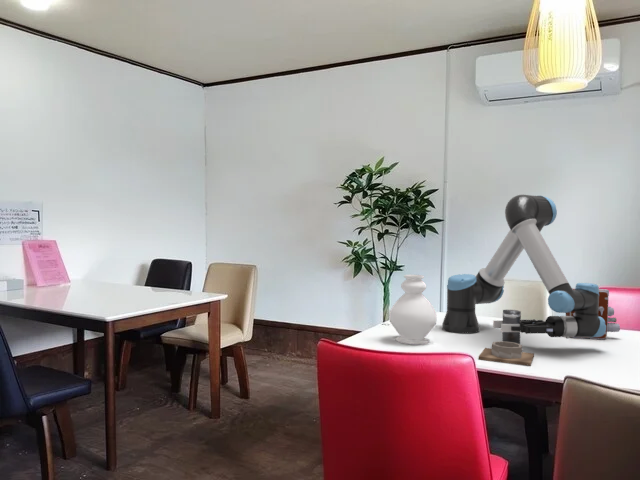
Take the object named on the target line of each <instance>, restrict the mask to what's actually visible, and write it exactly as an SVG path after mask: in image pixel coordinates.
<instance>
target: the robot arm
mask: <svg viewBox="0 0 640 480" xmlns="http://www.w3.org/2000/svg"><path fill="white" fill-rule="evenodd" d="M557 211H558V210H557V206H556V203H555V202H554V201H553V200H552V199H551V198H549V197H547V196H543V195H531V194H519V195H518V194H517V195H515V196H513V197H512V198H510V200H508V202H507V204H506V206H505V210H504V215H505V220H506V222H507V225H508V227H509V230H508V232H507V234H506V236H504V239H503V240H502V241H501V243H500V244H499V247H498V248H497V250H495V252H494V254H493V256H491V258H490V261H488V263H487V264H486V267H483V268H481V269H479V271H478V272H477V274H476V275H475V274H470V273H462V274H454V275H451V276H449V277H448V279H447V285H446V289H447V292H446V293H447V294H446V313H445V315H444V317H443V321H442V325H441V327H442V328H441V329H442V331H443V330H444V331H446V332H450V333H455V334H476V333H479V332H480V325H479V321H478V318H477V317H478V316H477V315H476V314H477V313H476V305H484V304H492V303H495V302H497V301H499V300H500V299H501V298H502V297H503V295H504V291H505V290H504V288H505V286H504V285H505V279H504V278H505V277H506V276H507V274H508V273H509V271H510V270H511V268H512V267H513V265H514V264H515V262H516V261H517V259H518V258H519V257H520V255H521V254H522V252H523V251H524V250H525V252H526V254H527V257H528V258H529V260H530V262H531V263H532V265H533V267H534V269H535V271H536V273H537V274H538V276H539V278H540V280H541V282H542V283H543V285H544V287H545V289H546V290H547V292H548V294H549V295H548V296H547V297H548V298H547V306H548V307H549V308H550V310H552V311H553V312H555V313H558V314H559V313H563V314H564V313H565V314H566V313H567V312H573V311H575V316H566V315H548V316H547V317H546V319H545V321H544V320H543V319H537V320H536V319H521V326H520V324H503V320H492V321H493V322H492V323H493V324H492V325H493V326H492V328H493V329H500V332H501V333H502V332H520V333H521V334H522V333H524V334H526V335H528V334H530V335H531V334H547V335H548V336H549V337H550V338H566V339H570V338H573V337H589V338H592V337H601V336H603V335H604V334H605V332H606V325H605V320H604V319H603V318H602V317H600V316H598V308H599V289H600V288H599V285H598V284H597V283H589V282H578V283H576V284H575V287H574V288H575V290H573V289H572V288H573V287H572V286H571V284H570V283H569V281H568V279H567V277H566V276H565V274H564V272H563V271H562V269H561V267H560V265H559V263H558V262H557V260H556V258H555V256H554V254H553V253H552V251H551V249H550V248H549V246H548V244H547V242H546V241H545V239H544V237H543V234H542V233H541V231H542V230H543V228H544V227H547V226H550V225H551V224H553V223H554V221H555V220H556V218H557V216H558V215H557Z"/></svg>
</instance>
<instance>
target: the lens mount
mask: <svg viewBox="0 0 640 480" xmlns="http://www.w3.org/2000/svg"><path fill="white" fill-rule="evenodd" d="M534 357H535V353H534V352H533V353H532V352H524V351H523V344H521V343H520V344H517V343H514V342H505V341H502V340H500V341H493V342H492V343H491V347H490V348H489V347H485V348H484V349H483V350H482V351H481V353H480V354H479V355H478V358H477V359H478V360H481V361H488V362H497V363H505V364H512V365H518V366H519V365H520V366H527V367H528V366H529V367H531V366H532V363H533V360H534Z"/></svg>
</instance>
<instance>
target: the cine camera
mask: <svg viewBox="0 0 640 480" xmlns="http://www.w3.org/2000/svg"><path fill="white" fill-rule="evenodd" d="M571 288H572V289H573V290H575V288H576V287H571ZM609 297H610V290H608V289H605V288H604V289H603V288H599V308H598V316H600V317H602V318H603V319H604V320H605V325H606V332H605V334H604V335H603V336H601V337H592V338H590V339H589V340H605V339H606V338H607V337H608V333H609V332H610V333H618V332H620V331H621V327H620V326H621V325H620V323H617V318H616V317H612V316H614V315H615V309H614V308H613V307H611V306H609ZM565 316H575V311H573V312H567V313H565ZM572 338H573V339H584V338H589V337H572Z"/></svg>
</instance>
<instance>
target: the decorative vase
mask: <svg viewBox="0 0 640 480" xmlns="http://www.w3.org/2000/svg"><path fill="white" fill-rule="evenodd" d="M403 278H404V279H405V280H403V281H402V283H401V284H400V288H401V290H403V291H404V292H405V293H403V294H402V295H400V297H399V298H398V299H397V300H396V301H395V303H393V305H392V307H391V308H390V311H389V318H388V319H389V322H390V324H391V325H392V327H393V328H394V329H395V331H396V333H397V334H398V335H399V336H396V337H395V341H396V342H398V343H401V344H406V345H427V344H429V343H430V339H429V338H427V337H426V336H427V335H428V334H429V333H430V332H432V330H433V328H434V327H435V326H436V325H437V322H438V319H437V318H438V317H437V312H436V309H435V307H434V306H433V304H432V303H431V302H430V301H429V299H427V298H426V296H425V295H424V294H423V292H424V291H426V289H427V284H426V282H424V281H423V280H422V279H424V278H425V275H422V274H404V275H403Z"/></svg>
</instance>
